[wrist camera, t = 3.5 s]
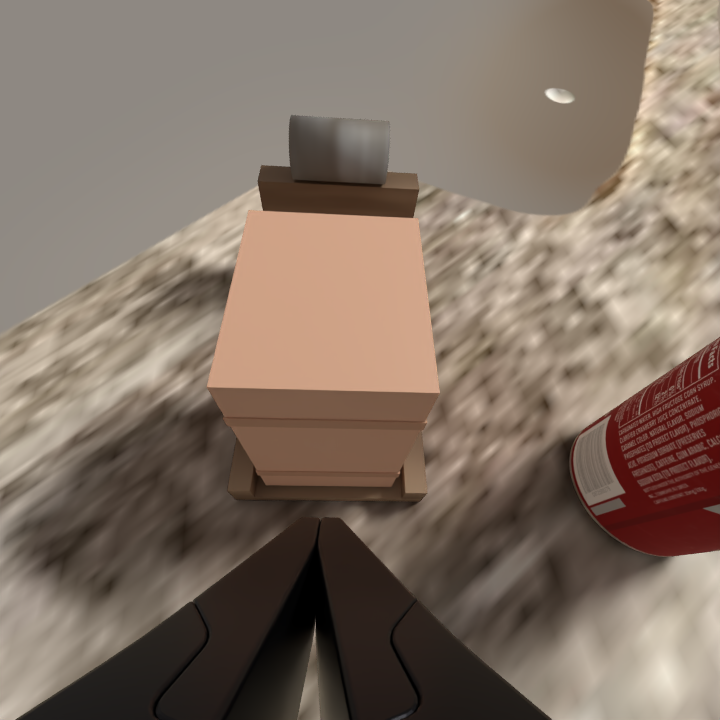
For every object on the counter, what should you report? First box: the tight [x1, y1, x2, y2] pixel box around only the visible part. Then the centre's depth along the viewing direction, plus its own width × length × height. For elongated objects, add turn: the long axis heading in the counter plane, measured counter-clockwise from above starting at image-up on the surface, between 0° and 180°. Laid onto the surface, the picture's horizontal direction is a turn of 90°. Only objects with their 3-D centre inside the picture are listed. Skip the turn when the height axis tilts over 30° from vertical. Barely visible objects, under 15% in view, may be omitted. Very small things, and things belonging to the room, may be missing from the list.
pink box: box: [207, 210, 440, 487], centre depth 16 cm, size 7×6×10 cm
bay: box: [227, 115, 427, 502], centre depth 19 cm, size 18×9×10 cm, turn 0°
